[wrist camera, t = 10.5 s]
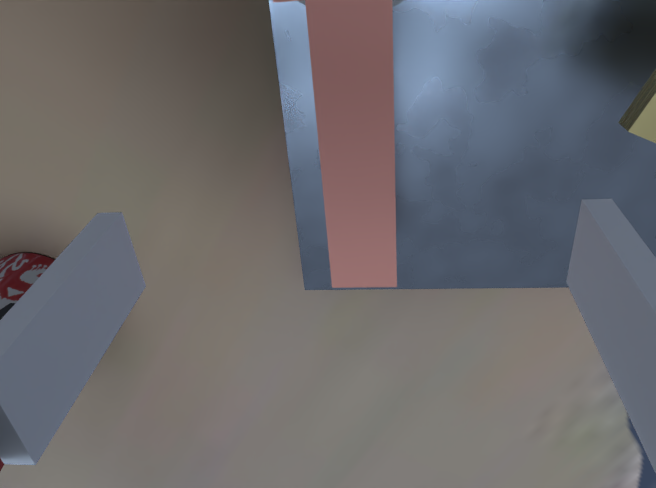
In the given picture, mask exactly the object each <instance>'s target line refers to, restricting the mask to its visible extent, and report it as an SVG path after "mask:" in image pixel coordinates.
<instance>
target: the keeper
mask: <svg viewBox="0 0 656 488" xmlns="http://www.w3.org/2000/svg"><path fill="white" fill-rule="evenodd" d="M618 123H619V124H620V125H621V126H622V127H624V128H625V129H626V130H627V131H628V132H630V133H633V134H635V135H637V136H640V137H642V138H644V139H647V140H649V141H652V142H654V143H656V69H655V70H654V72H653V73H652V75H651V76H650V78H649V79H648V80H647V82H646V83H645V85H644V86H643V88H642V89H641V90H640V92H639V93H638V95H637V96H636V98H635V99H634V100H633V102H632V103H631V105H630V106H629V108H628V109H627V111H626V112H625V113H624V115H623V116H622V118H621V119H620V121H619V122H618Z"/></svg>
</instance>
